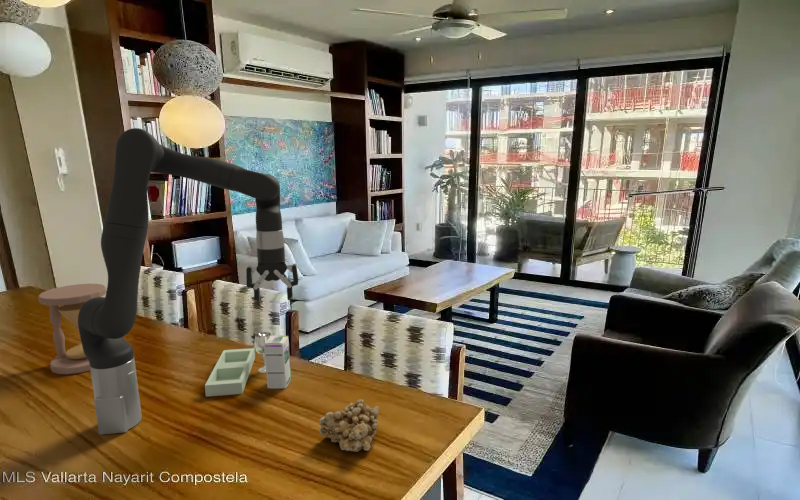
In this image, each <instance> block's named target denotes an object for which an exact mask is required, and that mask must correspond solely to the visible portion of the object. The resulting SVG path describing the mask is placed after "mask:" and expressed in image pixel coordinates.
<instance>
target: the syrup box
mask: <svg viewBox="0 0 800 500" xmlns="http://www.w3.org/2000/svg"><path fill="white" fill-rule="evenodd" d="M264 350H265V362H266V373H265V374H266V386H267V389H276V390H277V389H280V390H281V389H287V387H288V386H289V384H290V383H291V380H292V370H291V369H292V367H291V354H290V353H291V352H290V342H289V335H280V334H279V335H271V336H270V338H269V339H268V340H267V341H266V342H265V343H264Z"/></svg>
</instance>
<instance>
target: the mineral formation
mask: <svg viewBox="0 0 800 500" xmlns="http://www.w3.org/2000/svg"><path fill="white" fill-rule="evenodd" d="M379 411H380V407H379V406H377V405H376V406H374V407H370V406H369V405H368V404H364V399H358V400H357V401H356V402H355V403H354V402H350V403H349V404H348V405H346V406H345V407H344V408H343V410H340V411H335V412H332V411H329V412H327V413H325V416H322V417H321V418H319V426H320V428H319V429H318V434H319V436H321V437H326V438H328V439H330V440H331V441H330V442H331V443H339V448H340V450H342V451H347V452H348V451H349V452H355V453H357V452H359V451H361V450H362V449H363V450H364V451H369V450H370V449H371V443H372V441H373V438H374V436H376V435H377V428H378V424H379V423H378V422H379V421H378V416H379Z"/></svg>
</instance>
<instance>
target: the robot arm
mask: <svg viewBox="0 0 800 500" xmlns="http://www.w3.org/2000/svg"><path fill="white" fill-rule="evenodd" d="M157 140H158V139H156V138H155V137H154V136H153V135H152V133H150V132H148V131H146V130H145V129H142V128H138V127H134V128H129V129H126V130H125V131H124V132H122V133H121V135H120V136H119V137H118V138H117V140H116V144H115V145H116V146H115V156H114V159H115V160H114V161H115V162H114V175H113V180H112V187H111V190H110V195H109V199H108V202H107V209H106V212H105V213H106V214H105V217H104V222H103V227H102V232H101V238H100V248H101V252H102V257H103V261H104V264H105V268H106V272H107V287H106V293H105V295H104V297H103V296H102V297H96V298H92V299H90V300H88V301H86V302H85V303H84V304H83V306H82V307H81V309H80V311H79V314H78V328H79V329H78V332H79V336H80V343H81V344H82V347H83V351H84V354H85V355H86V357H87V358H88V360H89V364H90V376H91V384H92V388H93V389H92V391H93V397H94V399H93V401H94V409H95V416H96V424H97V429H98V435H100V436H103V435H109V434H110V435H111V434H121V433H122V434H123V433H127V432H128V430H131V429H132V428H134V427H136V426H137V425H139V423H140V422H141V421H142V418H143V417H142V410H141V408H142V407H141V399H140V393H139V392H140V391H139V385H138V378H137V368H136V362H135V360H136V359H135V354H134V348H133V346H132V345H131V344H130V343H129V342H128V341H127V340H126V339H125V338H124V337H125V336H127V334H129V332H131V330H132V328H133V327H134V325H135V322H136V318H137V313H138V312H137V311H138V296H139V295H138V294H139V293H138V292H139V281H140V273H141V268H142V261H143V255H144V250H145V246H146V241H147V234H148V230H149V217H150V216H149V203H148V202H149V201H148V200H149V199H148V188H149V187H148V186H149V185H148V184H149V180H150V177H151V173H157V174H164V175H171V176H177V177H181V178H185V179H189V180H193V181H197V182H200V183H203V184H206V185H210V186H213V187H216V188H220V189H223V190H224V189H225V190H228V191H231V192H236V193H237V192H238V193H240V194H243V195H245V196H248V197H250V198H254V199H255V207H256V211H255V229H256V233H255V241H256V242H255V243H256V255H257V256H256V257H257V258H256V259H257V266H252V265H248V266H247V267H246V269H245V270H246V276H245V277H246V287H247V288H248V289H249V288H250V289H252V290H253V295H254V296H253V297H254V300H255V301H256V302H257V303H258V302H260V303H261V288H260V286H261V285H262V283H263V282H264V281H266V282H271V281H276V282H277V281H281V282H282V283H284V284H285V286H286V293H287V294H286V296H287V301H290V300H291V299H292V298H293V296H294V295H293V293H294V292H293V287H295V286H298V284H299V276H298V267H297V264H296V263H292V264H287V262H286V257H285V254H286V253H285V251H286V250H285V239H284V233H283V221H282V219H283V218H282V214H281V213H282V212H281V185H280V182H279V180H278V178H277V177H276V176H274V175H272V174H270V173H262V172H261V173H260V172H258V171H253V170H250V169H247V168H244V167H243V166H239V165H237V164H233V163H230V162H227V161H224V160H220V159H217V158H210V157H204V156H195V155H190V154H185V153H181V152H179V151H175V150H174V149H171V148H168V147H166V146H164V145H162V144H160V143H159V142H158V141H157ZM287 270H289V272H290V273H292V280H290V279H289V277H288V276H287V275H286V274H285V273H286V272H287ZM256 272H257V273H258V274H259V278H258V279H257V281H256V282H253V275H254V274H255V273H256Z"/></svg>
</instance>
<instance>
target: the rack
mask: <svg viewBox="0 0 800 500" xmlns="http://www.w3.org/2000/svg"><path fill="white" fill-rule="evenodd" d="M255 359H256V350H255V347H252V348H235V349H224V350H223V351H222V353H221V355H220V357H219V358H218V360H217V362H216V364H215V366H214V368H213V370H212V371H211V372H210V375H209V377H208V379H207V380H206V382H205V384H204V391H205V397H218V396H229V395H230V396H231V395H241V394H243V393H244V391H245V387H246V384H247V382H248V379H249V376H250V373H251V370H252V368H253V365H254V362H255Z"/></svg>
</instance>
